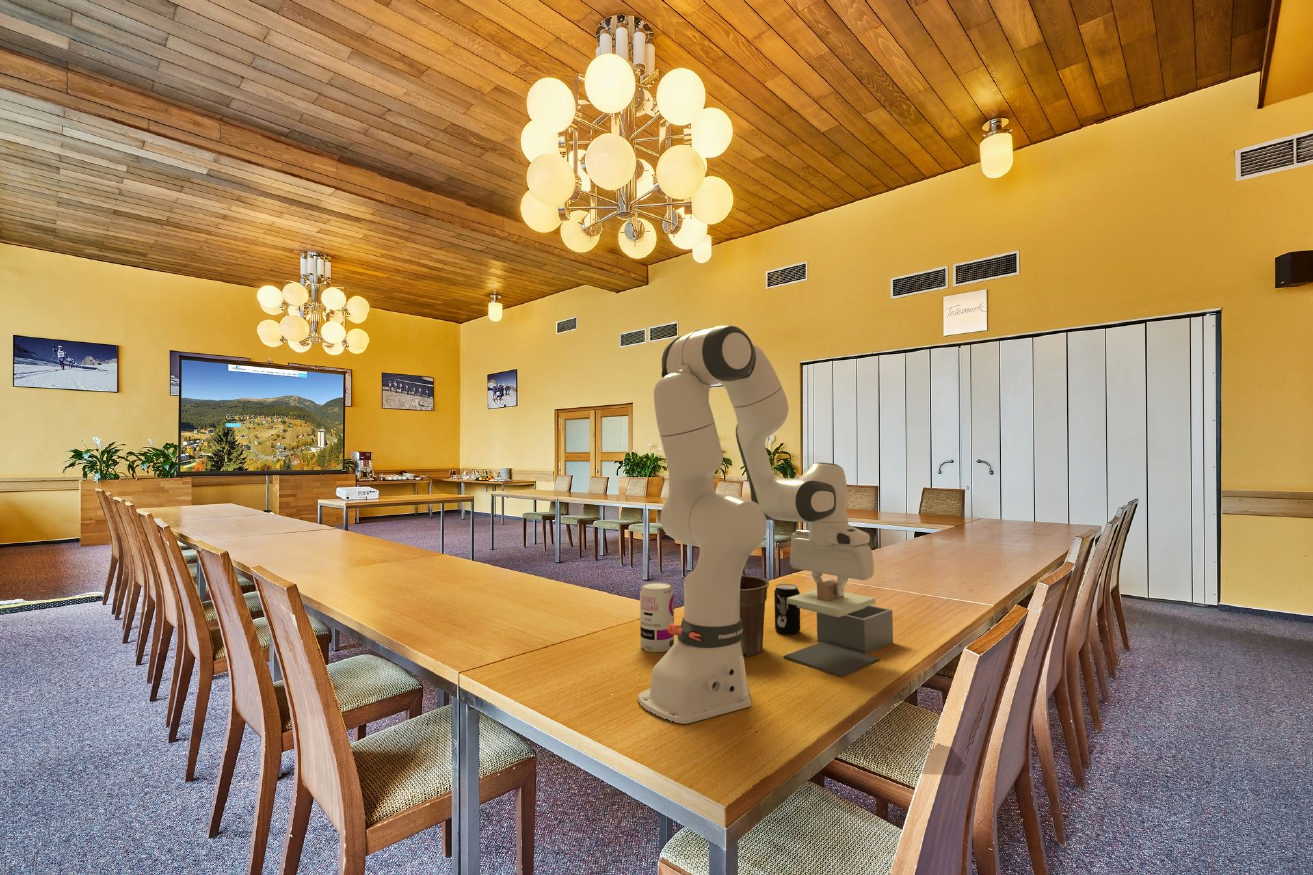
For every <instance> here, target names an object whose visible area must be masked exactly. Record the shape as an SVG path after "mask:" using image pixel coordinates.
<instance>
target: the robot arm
mask: <svg viewBox="0 0 1313 875" xmlns="http://www.w3.org/2000/svg"><path fill="white" fill-rule="evenodd" d="M663 350H664V351H663V353H662V356H661V378H660V380H659V381H657V382H656V384H655V386H654V389H653V399H654V401H653V402H654V411H655V418H656V419H655V420H656V423H657V424H656V425H657V429H658V432H659V438H660V440H661V444H662V445H661V446H662V448H663V453H664V457H665V462H666V466H667V471H668V496H667V500H666V501H665V502H664V504H663V506H662V508H661V511H660V524H661V527H662V530H663V531H664V533H665V534H666V535H667V536H668V537H670V538H672V539H673V540H676V541H677V542H679V543H681V544H683V545H687V546H691V547H692V546H693V547H697V548H699V555H698V559H697V563H696V566H695V568H694V569H693V570H691V571H690V572H689V573H688V574H687V575H686V577H685V579H684V581H683V606H684V607H683V613H684V614H683V618H682V620H681V623H680V625H679V624H676V623H674V624H673V623H671V624H669V626H668V630H669V631H668V632H669V633H670V634H674V636H676V637H677V639H676V641H674V645H673V646H672V647H671V648H670V649H669V651H666V653H665V654H664V655H663V656H662V657H661V658H660V659H659V661H658V662H657V663H656V664H655V665H654V667H653V668H652V672H651V674H650V675H651V676H650V686H649V688H648V689H645V690H644V691H641V692H640V693H639V694H638V696H637V701H639V702H638V703H640V704H639V705H640V706H641V707H642V706H643V707H642V708H643V709H644V708H645V710H646V711H647V710H648V711H647V712H649V711H650V712H649V713H651V712H652V713H653V714H652V713H651V714H652V715H654V714H656V715H657V717H658V716H660V717H662V718H661V719H663V718H664V719H663V720H665V719H668V720H670V721H669V722H672V721H674V722H673V723H677V724H683V725H685V724H686V725H687V724H691V723H694V722H695V723H696V722H699V721H701V720H706V719H710V718H714V717H717V716H720V715H724V714H727V713H728V714H729V713H731V712H736V711H738V710H742V709H743V710H744V709H745V708H746V709H747V708H749V707H751V706H752V700H751V696H750V694H751V692H750V688H749V685H748V681H747V680H748V679H747V674H746V666H745V658H744V654H743V653H742V648H741V639H742V638H743V627H742V619H741V618H740V583H741V576H743V571H744V568H745V565H746V563H747V561H748V559H749V557H750V556H751V554H752V553H753V552H754V551H756V549H758V548H759V546H761V544H762V543H763V542H764V539H765V537H766V533H767V528H768V524H767V523H768V522H767V521H787V522H797V523H798V522H799V523H808V530H802V529H796V530H795V531H793V532H792V533H791V536H790V538H791V539H790V540H791V542H790V543H791V544H790V551H789V552H790V553H789V564H790V566H791V568H793V569H796V570H801V571H802V570H803V571H808V572H811V576H812V579H813V580H814V582H815V584H816V585H817V584H818V583H821V582H824V580H823V578H822V576H823V575H829V576H835V577H837V579H836V580H837V581H840V582H839V584H838V586H837V587H834V595H837V596H842V595H843V594H844V592H845V591H844V590H845V589H844V588H845V587H846V585H847V582H848V581H849V579H853V580H858V581H859V580H860V581H867V580H870V579H871V578H873V577H874V575H875V574H874V573H875V564H874V556H873V551H872V548H871V547H870V545H869V544H868V543H869V542H870V540H871V538H870V536H871V535H870V534H869V533H868V532H865V531H864V530H863V531H862V530H860V529H858V528H857V527H854V526H853V525H850V524H849V518H848V514H847V505H848V487H847V486H848V484H847V479H846V478H847V477H846V474H845V471H844V469H843V467H842V466H840V465H839V464H836V463H831V462H829V463H828V462H813V463H811V464H810V465H809V467H808V470H807V471H806V472H805V473H802V475H800V476H798V477H797V478H796V477H795V478H786V477H785V478H783V477H780V476H778V475H777V474H775V473H774V471H773V469H772V464H771V461H770V459H769V455H768V452H767V448H766V440H767V438H768V437H769V436H771V435H773V434H774V433H775V432H777V431H778V430H779V429H780V428H781V427H782V426H783V425H784V423H785V422H786V420H787V418H788V415H789V410H790V408H789V402H788V399H787V396H786V393H785V391H784V388H783V386H782V383H781V381H780V379H779V376H778V374H777V373H776V371H775V369H774V366H773V365H772V364H771V361H770V360H769V358H768V357H767V355H766V354H765V353H764V351H763V350H762V349H761V348H760V347H759V346H758V345H756V344H753V342H752V340H751V338H750V337H749V336H748V334H747V333H746V332H745V331H744V330H742V329H741V328H740V327H737V326H733V325H726V324H725V325H717V326H715V327H711V328H706V329H698V330H695V331H692V332H690V333H688V334H687V333H686V334H685V335H681V336H679V337H676V338H675V339H673V340H672V341H671V342H669V343H668V344H667V346H666V347H665V348H664V349H663ZM718 384H720V385H722V386H723V387H724V388H725V390H726V393H727V396H728V398H729V400H730V402H731V403H730V404H731V405H732V408H733V410H734V413H735V416H736V421H737V422H736V423H737V424H736V426H735V438H736V443H737V447H738V450H739V451H738V452H739V453H740V457H741V460H742V464H743V467H744V470H745V473H746V477H747V480H748V484H749V485H748V486H749V491H750V499H748V498H745V497H742V496H739V495H735V494H734V495H733V494H721V493H720V494H719V493H717V492H716V490H715V473H716V472H717V471H718V470H719V469H720V467H721V465H722V464H723V461H724V454H723V451H722V447H721V440H720V437H719V433H718V429H717V426H716V421H715V418H714V415H713V410H712V408H711V405H710V400H709V399H710V398H709V397H710V395H709V394H710V391H711V390H710V389H711V386H714V385H718ZM656 715H655V716H656ZM660 717H659V718H660ZM668 720H667V721H668Z"/></svg>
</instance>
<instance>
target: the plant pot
mask: <svg viewBox="0 0 1313 875" xmlns="http://www.w3.org/2000/svg"><path fill="white" fill-rule="evenodd" d="M769 586H770V582H769V580H767V579H766V578H762V577H757V576H752V575H742V576H741V583H740V618H741V619H742V627H743V638H742V639H741V648H742V653H743V655H746V656H748V657H749V656H753V655H754V656H755V655H757V654H759V653H761V652H762V650H763V647H764V646H763V645H764V627H765V610H766V601H767V597H768V587H769Z"/></svg>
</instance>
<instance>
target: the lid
mask: <svg viewBox="0 0 1313 875" xmlns="http://www.w3.org/2000/svg"><path fill="white" fill-rule="evenodd" d="M839 582H840V581H838V580H837V579H836V580H835V579H830V580H829V579H828V580H825V581H823V582H821V583H818V584H816V589H813V590H809V591H807V592H806V591H805V592H802V593H800V594H799V595H795V596H792V597H788V598H787V603H788V604H793V605H797V608H800V610H804V611H805V610H806V611H810V612H815V613H817V612H818V613H822V614H826V615H830V616H835V617H841V616H844V615H847V614H849V613H852V612H855V611H858V610H861V609H863V608H865V607H867V606H870V605H871V606H873V605H875V604H876V598H875V597H871V596H866V595H861V594H856V593H851V592H847V591H844V594H843V595H842V596H837V595H834V587H837V586H838V584H839Z"/></svg>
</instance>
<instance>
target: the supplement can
mask: <svg viewBox="0 0 1313 875" xmlns="http://www.w3.org/2000/svg"><path fill="white" fill-rule="evenodd" d="M674 591H675V590H673V587H672V585H671V584H670V583H665V582H648V583H645V584H643V585H642V587H641V590H640V592H639V598H640V599H639V604H640V606H639V609H640V610H639V612H640V616H639V617H640V618H639V619H640V622H639V623H640V626H639V627H640V628H639V629H640V631H639V632H640V634H639V635H640V647H641V648H642V649H643V648H644V649H646V650H647V651H646V652H648V651H650V652H649V653H654V652H661V653H665V651H666V652H668V650H669V649H670V648H671V647H672V646H673V645H674V644H675V635H674V634H670V633H669V632H668V631H669V630H668V626H669V624H671V623H673V624H675V602H674V601H675V596H674V594H675V593H674ZM644 649H643V650H644Z"/></svg>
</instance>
